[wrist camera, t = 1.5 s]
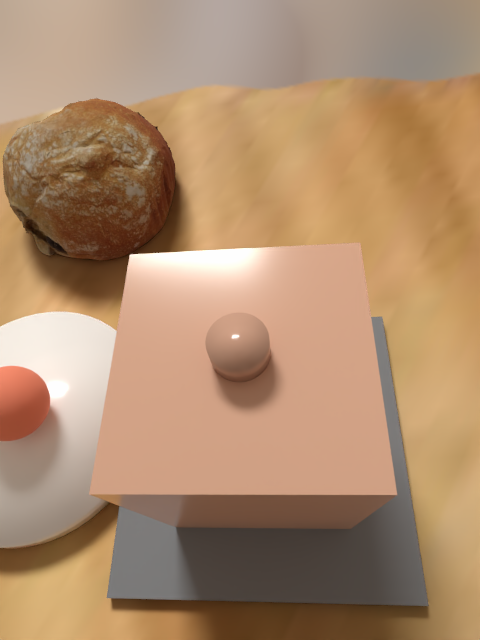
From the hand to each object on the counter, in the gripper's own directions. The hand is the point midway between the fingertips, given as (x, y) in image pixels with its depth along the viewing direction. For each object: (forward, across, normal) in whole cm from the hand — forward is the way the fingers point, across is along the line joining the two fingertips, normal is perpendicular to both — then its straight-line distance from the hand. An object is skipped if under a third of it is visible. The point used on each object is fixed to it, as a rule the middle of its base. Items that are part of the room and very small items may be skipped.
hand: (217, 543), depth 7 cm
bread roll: (+23, +10, -5) cm, 26 cm away
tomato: (+12, +11, +4) cm, 17 cm away
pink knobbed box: (+12, 0, +5) cm, 13 cm away
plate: (+13, +11, +5) cm, 17 cm away
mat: (+12, 0, +5) cm, 13 cm away
